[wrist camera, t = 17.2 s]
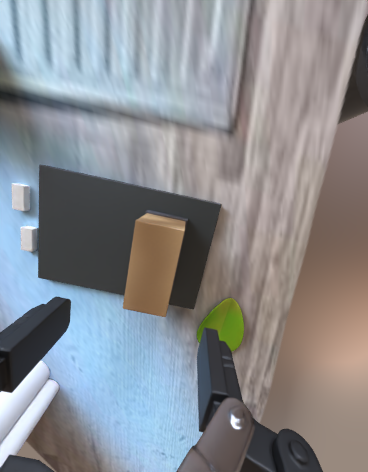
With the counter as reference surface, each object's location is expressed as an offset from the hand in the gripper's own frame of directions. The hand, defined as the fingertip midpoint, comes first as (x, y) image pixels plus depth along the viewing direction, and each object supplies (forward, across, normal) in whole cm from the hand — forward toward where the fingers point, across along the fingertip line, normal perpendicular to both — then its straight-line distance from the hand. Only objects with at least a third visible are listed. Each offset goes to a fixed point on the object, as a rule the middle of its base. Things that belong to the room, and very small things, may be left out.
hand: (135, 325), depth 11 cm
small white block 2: (+13, +18, +3) cm, 23 cm away
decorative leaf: (+15, -10, +11) cm, 21 cm away
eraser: (+13, +1, 0) cm, 13 cm away
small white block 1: (+14, +19, -3) cm, 24 cm away
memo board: (+15, +6, 0) cm, 16 cm away
